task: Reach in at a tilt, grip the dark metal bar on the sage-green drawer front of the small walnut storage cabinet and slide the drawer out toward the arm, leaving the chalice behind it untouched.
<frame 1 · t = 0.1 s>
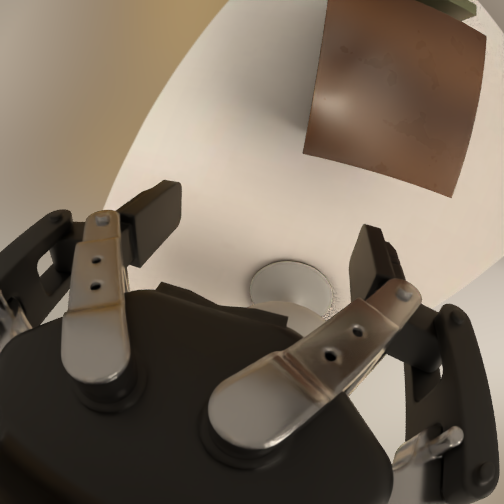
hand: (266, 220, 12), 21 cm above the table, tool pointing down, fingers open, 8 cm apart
drawer: (399, 17, 15), point 5 cm above the table, slide at 2.0 cm
chalice: (291, 293, 41), on the table
cabinet: (377, 85, 24), on the table
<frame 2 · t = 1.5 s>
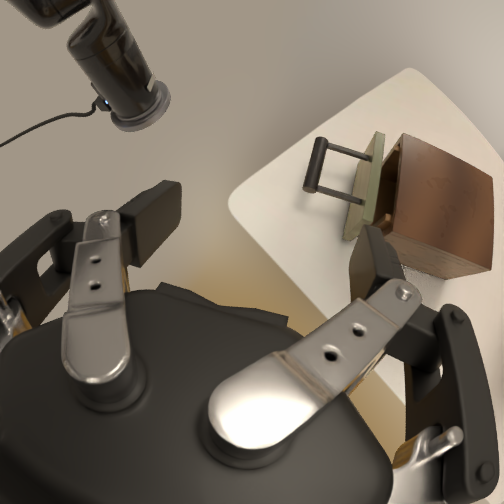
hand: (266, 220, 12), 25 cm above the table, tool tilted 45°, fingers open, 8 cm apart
drawer: (384, 195, 32), point 5 cm above the table, slide at 2.0 cm
cabinet: (414, 224, 37), on the table
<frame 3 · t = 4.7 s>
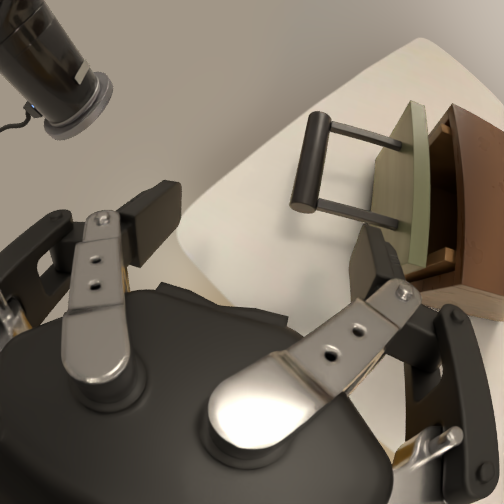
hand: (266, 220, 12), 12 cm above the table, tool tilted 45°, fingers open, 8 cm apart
drawer: (427, 208, 18), point 5 cm above the table, slide at 2.0 cm
cabinet: (458, 247, 22), on the table
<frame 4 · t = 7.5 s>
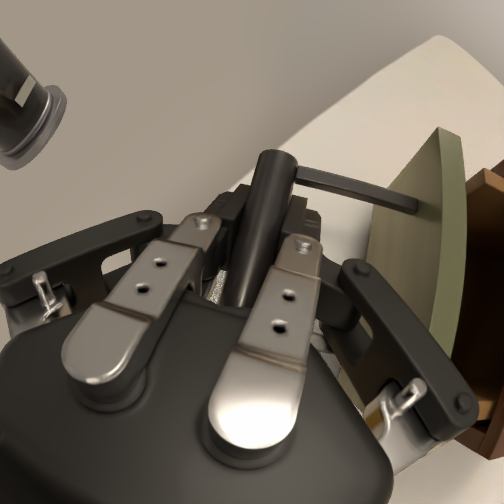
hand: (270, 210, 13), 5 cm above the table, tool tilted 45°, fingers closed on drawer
drawer: (444, 297, 11), point 5 cm above the table, slide at 3.3 cm, touching gripper
cabinet: (485, 321, 16), on the table
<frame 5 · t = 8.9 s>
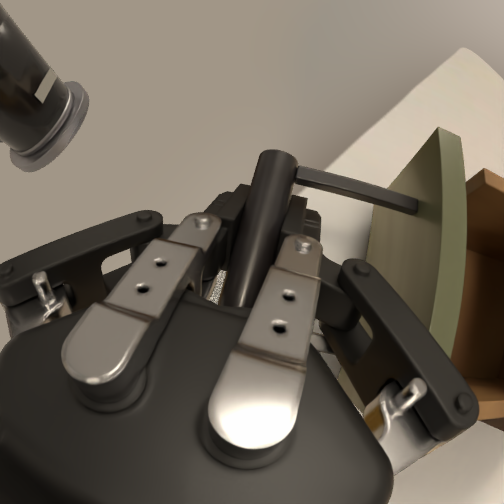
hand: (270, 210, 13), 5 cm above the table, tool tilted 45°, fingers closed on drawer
drawer: (444, 298, 11), point 5 cm above the table, slide at 7.4 cm, touching gripper
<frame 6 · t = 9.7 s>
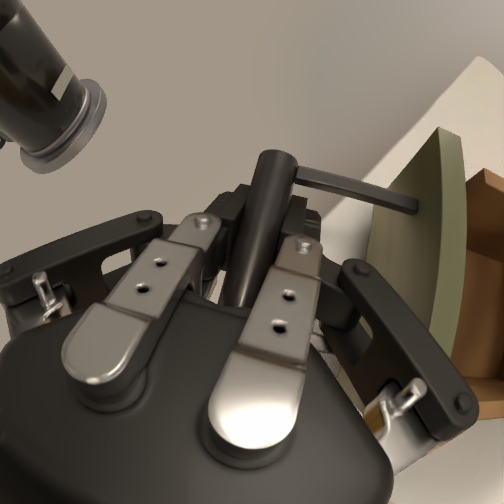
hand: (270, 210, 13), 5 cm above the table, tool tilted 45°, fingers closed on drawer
drawer: (444, 298, 11), point 5 cm above the table, slide at 10.2 cm, touching gripper
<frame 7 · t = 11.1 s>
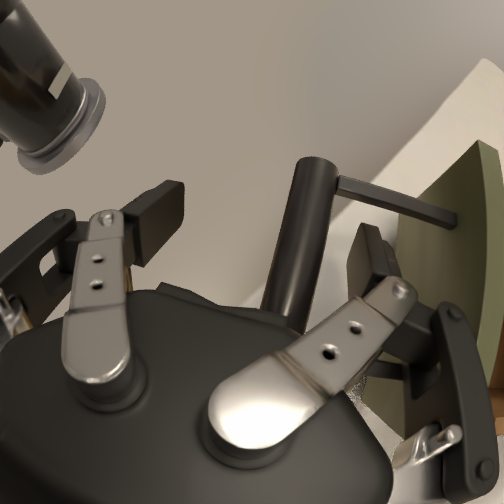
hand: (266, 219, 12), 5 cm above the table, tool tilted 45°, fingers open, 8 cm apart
drawer: (473, 312, 10), point 5 cm above the table, slide at 9.0 cm, touching hand
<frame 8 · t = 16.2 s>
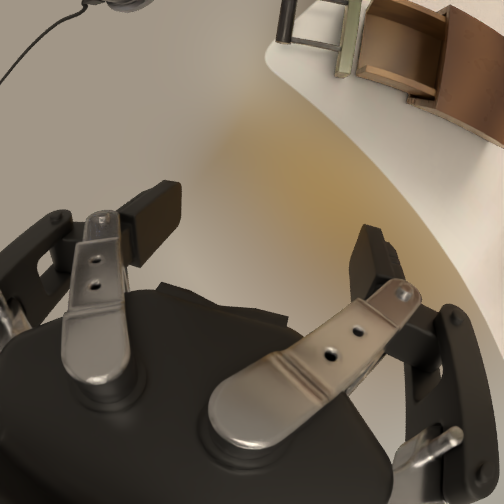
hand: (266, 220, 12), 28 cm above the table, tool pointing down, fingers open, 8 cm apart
drawer: (373, 37, 22), point 5 cm above the table, slide at 9.0 cm
cabinet: (460, 82, 25), on the table
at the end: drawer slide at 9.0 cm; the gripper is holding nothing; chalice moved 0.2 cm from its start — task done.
